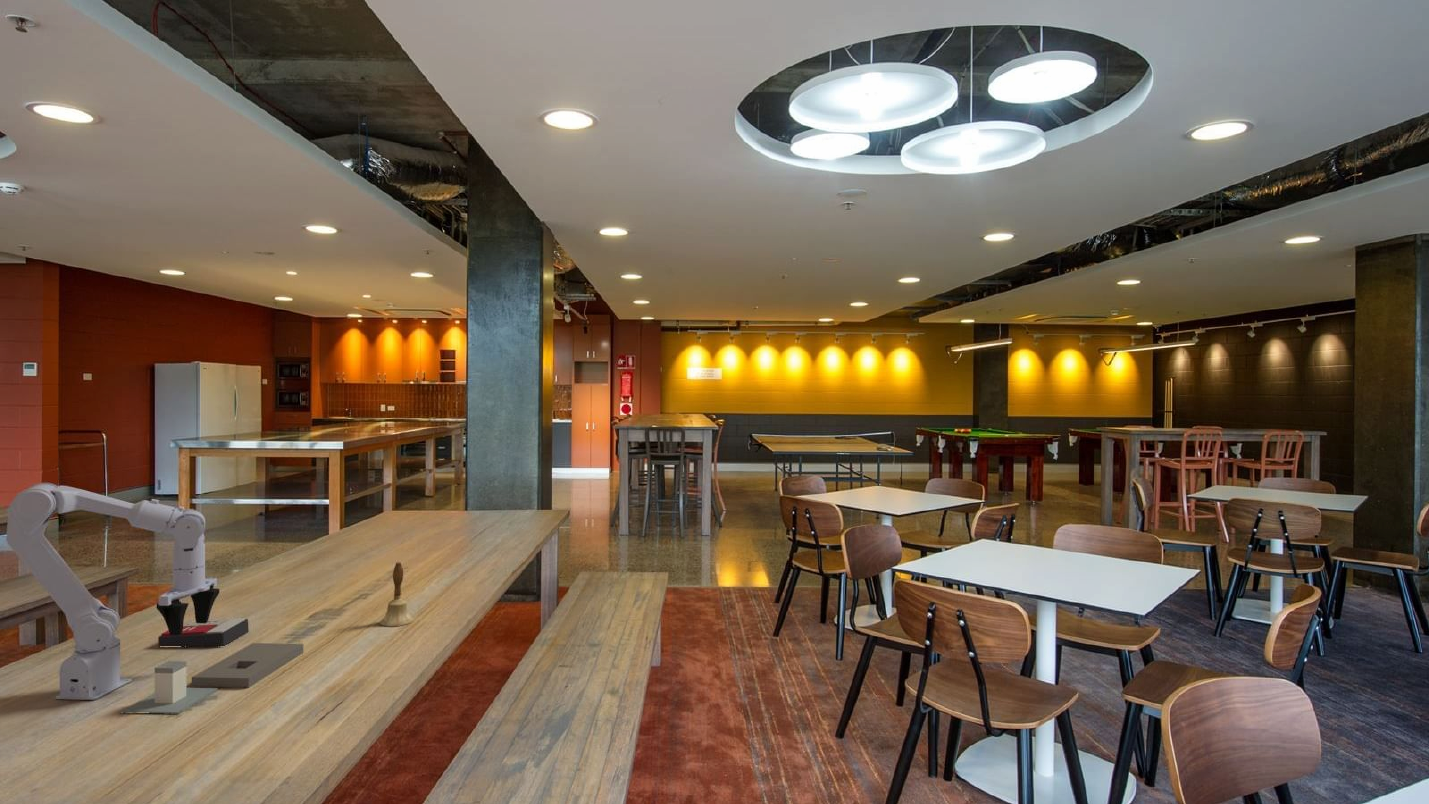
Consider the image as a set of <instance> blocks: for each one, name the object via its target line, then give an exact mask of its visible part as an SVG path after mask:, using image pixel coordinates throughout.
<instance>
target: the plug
mask: <svg viewBox="0 0 1429 804" xmlns="http://www.w3.org/2000/svg"><path fill="white" fill-rule="evenodd" d="M186 688H187V661H184V660H183V661H182V660H168V661H166V662H163V663H162V664H160V665H158V666H156V667H154V693H155V703H171V704H173V703H175V702H176V701H178V700H180V699H182V698H183V697H185V696H186Z"/></svg>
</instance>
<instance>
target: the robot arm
mask: <svg viewBox="0 0 1429 804" xmlns="http://www.w3.org/2000/svg"><path fill="white" fill-rule="evenodd" d="M159 502H160V500H159V499H155V498H152V499H151V500H146V499H143V500H141V501H139V502H137V503H132V502H128V501H126V500H125V501H124V500H121V499H118V498H115V497H111V496H107V495H103V494H99V493H96V492H92V491H88V490H85V489H81V488H77V487H72V486H69V485H56V484H54V483H50V482H40V483H36V484H34V485H31V486H30V487H28V488H27V489H25V490H22V491H20V492H19V493H17V495H16V496H15V497H14V498H13V500H12V502H11V503H10V505H9V506H8V508H7V510H6V513H7V524H6V525H7V527H6V538H5V539H6V542H7V544H8V546H9V547H10V549H11V550H12V551H13V552H14V553H15V555H16V556H17V557H18V558H19V560H20V561H21V562H22V563H23V565H24V566H25V567H26V568H27V569H28V570H29V571H30V573H31V574H32V575H33V576H34V578H35V579H36V580H37V581H38V583H39V584H40V585H41V587H43V589H44V590H45V591H46V593H48V594H49V596H50V598H52V600H53V601H54V602H55V604H56V605H57V606H58V607H59V608H60V609H61V611H62V612H63V614H64V615H65V618H66V622H67V625H68V627H69V628H70V629H71V631H72V633H73V641H74V644H75V646H74V650H73V652H72V653H71V655H70V656H69V657H67V658H66V659H64V660H63V661H62V663H61V665H60V666H59V667H60V668H59V695H56V696H55V699H56V700H77V701H78V700H80V701H81V700H84V701H85V700H87V701H93V700H96V699H99V698H100V697H103V696H104V695H107V694H109V693H110V692H112V691H115V690H116V689H119V688H120V687H122V686H124V685H126V684H129V683H130V682H131V681H132V678H121V639H120V638H119V637H118V636H117V635H116V634H115V633H116V631H117V630H118V629H119V627H120V623H121V619H120V618H121V617H120V615H119V613H118V612H117V611H115V610H113V609H111V608H109V607H107V606H105V605H104V604H103V603H102V601H101V600H99V599H97V598H96V597H94V596H93V595H92V594H91V592H90V591H89V590H88V589H87V588H86V587H85V585H84V584H83V582H81V579H79V578H78V576H77V575H76V574H75V573H74V572H73V570H72V569H71V568H70V566H69V565H68V564H67V563H66V561H65V560H64V559H63V557H62V556H61V555H60V554H59V552H58V551H57V550H56V549H55V547H54V546H53V545H52V544H51V543H50V542H49V540H48V539H47V537H46V536H45V531H46V529H47V527H48V525H49V523H50V519H51V518H52V516H53V515H54V514H55V513H56V512H57V511H58V512H57V513H58V514H64V513H68V512H73V511H74V512H75V511H79V510H81V511H87V512H91V513H97V514H101V515H107V516H112V517H117V518H121V519H126V520H127V521H128V522H129V525H130V526H131V527H133V528H139V529H142V530H146V531H151V532H156V533H158V534H159V533H160V534H164V535H168V534H172V536H173V539H174V540H173V547H172V587H171V589H169V590H167V591H166V592H165V593H163V594H161V595H159V596H158V603H156V609H157V610H158V612H159V613H160V615H161V616H162V617H163V620H164V621H165V624H166V627H167V629H168V630H169V633H170V635H181V634H182V631H183V623H184V622H185V621H184V619H185V615H186V611H187V609H188V607H189V604H190V603H188V602H182V601H180V600H183V599H185V598H187V597H190V598H191V600H192V604H193V608H194V619H195V620H196V623H207V622H208V620H209V618H210V615H211V611H212V608H213V605H214V604H215V601H216V599H217V598H218V596H219V594H220V588H217V587H218V578H217V577H208V578H207V577H206V544H205V539H206V538H205V535H204V533H205V531H206V519H205V516H204V515H203V514H202V513H201V512H199V511H197V510H195V509H194V508H188V509H185V507H183V506H181V505H180V506H178V507H175V506H170V505H167V504H166V505H165V504H162V503H159ZM168 630H167V631H168Z"/></svg>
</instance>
